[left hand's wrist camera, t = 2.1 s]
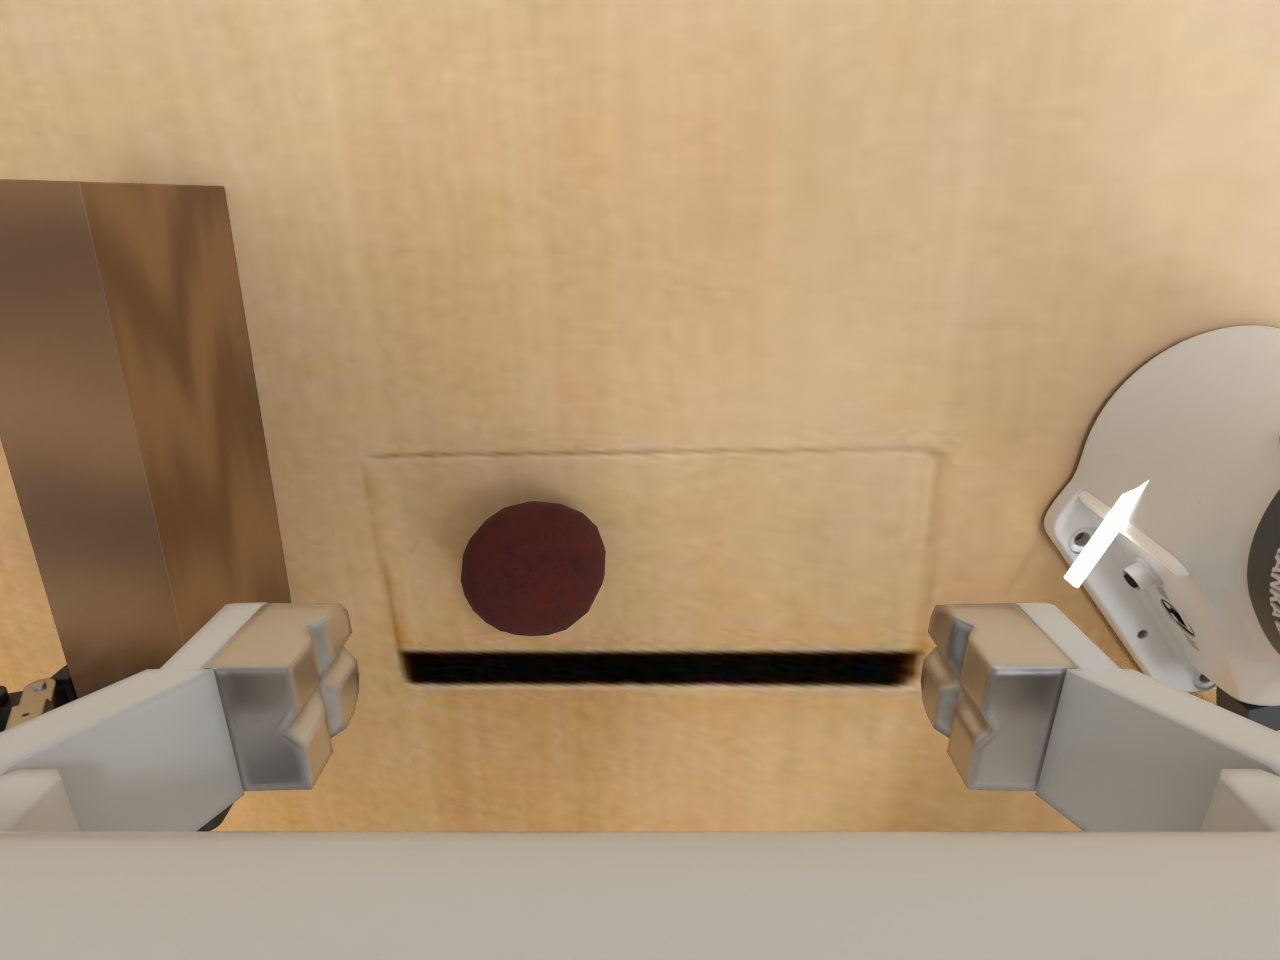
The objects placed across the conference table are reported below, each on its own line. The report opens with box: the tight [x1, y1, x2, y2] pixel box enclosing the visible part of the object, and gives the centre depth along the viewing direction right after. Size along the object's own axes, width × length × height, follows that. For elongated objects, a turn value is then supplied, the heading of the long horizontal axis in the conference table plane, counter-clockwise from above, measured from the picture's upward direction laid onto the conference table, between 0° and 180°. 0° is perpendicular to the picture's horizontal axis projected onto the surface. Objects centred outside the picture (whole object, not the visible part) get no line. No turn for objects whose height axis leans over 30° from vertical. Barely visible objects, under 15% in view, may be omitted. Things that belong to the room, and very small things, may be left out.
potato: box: [461, 501, 605, 636], centre depth 39 cm, size 7×8×7 cm
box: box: [0, 179, 291, 699], centre depth 36 cm, size 28×6×10 cm, turn 178°
